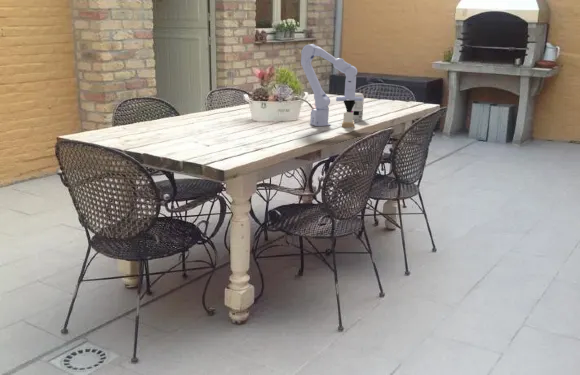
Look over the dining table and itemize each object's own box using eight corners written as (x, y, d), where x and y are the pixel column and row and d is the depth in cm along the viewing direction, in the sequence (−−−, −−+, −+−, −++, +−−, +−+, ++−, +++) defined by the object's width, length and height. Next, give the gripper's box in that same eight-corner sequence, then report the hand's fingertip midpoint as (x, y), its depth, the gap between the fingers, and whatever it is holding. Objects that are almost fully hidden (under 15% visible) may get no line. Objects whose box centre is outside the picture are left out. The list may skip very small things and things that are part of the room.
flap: (343, 120, 341) (343, 110, 337) (353, 121, 340) (354, 111, 336) (342, 123, 338) (343, 113, 335) (353, 123, 338) (353, 113, 334)
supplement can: (346, 119, 362) (347, 93, 358) (351, 117, 369) (353, 92, 365) (359, 121, 359) (360, 95, 355) (364, 119, 366) (366, 93, 362)
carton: (342, 124, 345) (343, 121, 345) (354, 125, 344) (354, 122, 344) (341, 127, 339) (342, 123, 338) (353, 127, 338) (353, 124, 337)
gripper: (360, 88, 339) (359, 113, 343) (335, 88, 336) (333, 113, 340) (364, 90, 332) (363, 115, 336) (338, 89, 329) (337, 115, 333)
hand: (348, 114), depth 337 cm, fingers closed
